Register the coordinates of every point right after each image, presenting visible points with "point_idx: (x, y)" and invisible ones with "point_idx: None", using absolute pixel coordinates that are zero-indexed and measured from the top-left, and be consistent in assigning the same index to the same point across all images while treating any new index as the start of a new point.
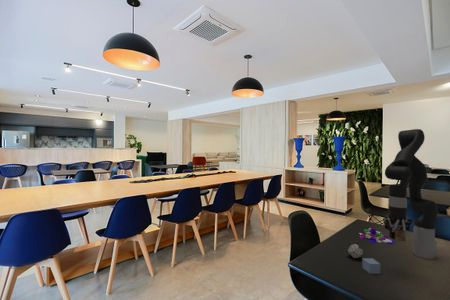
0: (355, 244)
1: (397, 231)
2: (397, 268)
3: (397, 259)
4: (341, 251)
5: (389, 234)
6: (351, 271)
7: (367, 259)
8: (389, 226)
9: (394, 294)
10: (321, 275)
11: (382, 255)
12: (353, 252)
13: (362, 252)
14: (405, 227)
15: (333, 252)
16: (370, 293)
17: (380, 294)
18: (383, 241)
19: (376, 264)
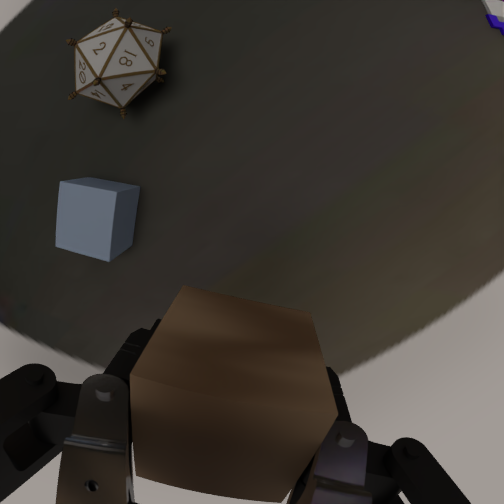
0: (111, 36)
1: (151, 476)
2: (282, 223)
3: (392, 144)
4: (128, 3)
5: (121, 348)
6: (28, 201)
7: (76, 198)
8: (20, 468)
9: (84, 359)
10: None
11: (348, 78)
12: (70, 98)
13: (140, 87)
14: (388, 490)
15: (78, 18)
16: (23, 329)
17: (45, 343)
18: (484, 2)
19: (89, 255)
